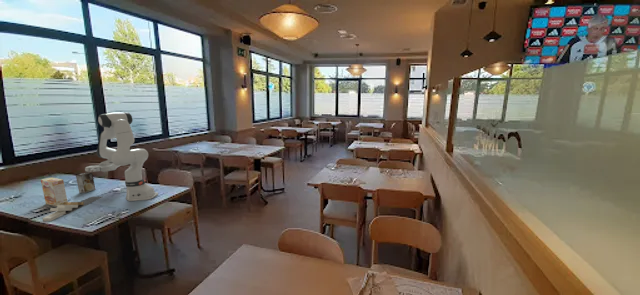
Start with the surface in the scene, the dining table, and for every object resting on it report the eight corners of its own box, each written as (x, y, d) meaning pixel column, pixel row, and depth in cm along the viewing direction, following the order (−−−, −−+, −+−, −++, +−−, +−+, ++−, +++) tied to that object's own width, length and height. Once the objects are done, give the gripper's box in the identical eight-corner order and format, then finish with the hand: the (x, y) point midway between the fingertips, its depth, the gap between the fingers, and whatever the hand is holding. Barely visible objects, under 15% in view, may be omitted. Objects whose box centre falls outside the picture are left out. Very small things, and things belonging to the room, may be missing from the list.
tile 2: (78, 204, 195) (64, 204, 184) (77, 207, 194) (64, 207, 184) (71, 205, 194) (57, 205, 184) (70, 207, 194) (56, 208, 183)
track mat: (103, 197, 216) (103, 196, 215) (66, 215, 182) (66, 215, 182) (91, 197, 215) (91, 196, 215) (51, 216, 182) (51, 215, 182)
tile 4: (65, 210, 184) (50, 218, 174) (65, 213, 185) (50, 220, 174) (57, 210, 184) (42, 218, 173) (58, 213, 184) (42, 221, 174)
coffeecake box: (45, 204, 202) (40, 179, 198) (57, 200, 209) (52, 177, 205) (56, 207, 197) (51, 182, 193) (68, 203, 203) (63, 179, 200)
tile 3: (72, 207, 190) (58, 207, 179) (71, 210, 189) (57, 210, 179) (65, 207, 189) (50, 208, 179) (64, 210, 189) (49, 211, 178)
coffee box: (89, 189, 233) (86, 172, 230) (95, 190, 232) (92, 172, 229) (78, 193, 225) (75, 175, 221) (84, 193, 223) (81, 175, 220)
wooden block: (83, 202, 200) (71, 202, 189) (83, 204, 199) (70, 204, 188) (77, 202, 199) (63, 202, 189) (76, 205, 199) (63, 205, 188)
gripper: (92, 163, 225) (78, 167, 211) (116, 162, 225) (104, 166, 212) (93, 170, 226) (79, 175, 212) (118, 169, 227) (106, 174, 213)
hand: (92, 170), depth 212 cm, fingers closed
